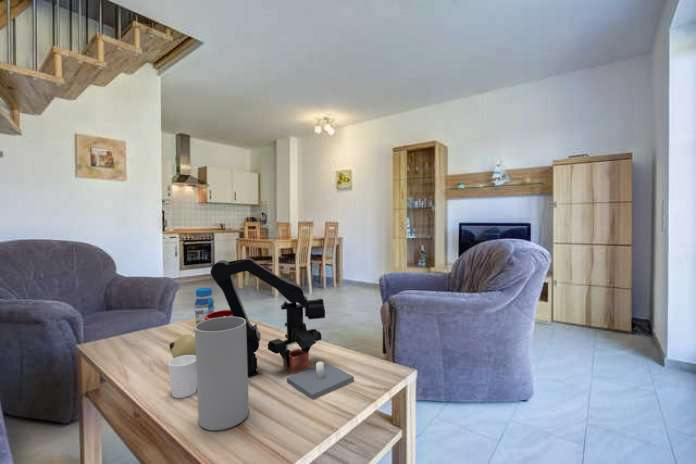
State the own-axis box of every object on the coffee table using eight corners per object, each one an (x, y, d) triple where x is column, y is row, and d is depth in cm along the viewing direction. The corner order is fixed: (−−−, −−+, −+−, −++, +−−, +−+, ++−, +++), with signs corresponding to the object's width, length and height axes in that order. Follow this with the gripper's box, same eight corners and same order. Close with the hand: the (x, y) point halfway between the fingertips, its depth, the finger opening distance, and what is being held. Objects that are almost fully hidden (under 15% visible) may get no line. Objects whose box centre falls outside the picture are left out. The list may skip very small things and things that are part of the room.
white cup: (179, 402, 97) (178, 368, 97) (164, 395, 101) (162, 362, 101) (204, 390, 104) (202, 358, 104) (188, 383, 108) (187, 353, 108)
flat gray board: (312, 399, 97) (312, 379, 97) (286, 382, 108) (286, 363, 108) (353, 381, 108) (353, 362, 108) (326, 366, 118) (326, 350, 118)
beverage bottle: (218, 331, 158) (216, 288, 158) (200, 335, 152) (198, 291, 151) (210, 327, 164) (208, 286, 163) (192, 331, 158) (190, 289, 157)
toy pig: (190, 354, 131) (189, 327, 131) (208, 361, 125) (207, 333, 124) (164, 364, 123) (163, 335, 123) (183, 372, 116) (181, 341, 116)
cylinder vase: (198, 437, 81) (194, 335, 80) (198, 410, 93) (195, 320, 92) (252, 424, 86) (248, 327, 85) (245, 400, 98) (243, 314, 97)
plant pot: (226, 333, 155) (225, 307, 154) (244, 339, 147) (243, 312, 146) (199, 342, 144) (198, 314, 144) (217, 349, 136) (216, 319, 136)
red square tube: (293, 373, 114) (292, 358, 114) (283, 367, 119) (283, 353, 118) (309, 367, 118) (308, 353, 118) (298, 361, 123) (298, 348, 123)
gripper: (283, 332, 105) (284, 381, 106) (330, 319, 118) (331, 363, 118) (266, 324, 114) (267, 370, 115) (311, 313, 126) (312, 354, 127)
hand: (296, 364), depth 118 cm, fingers closed on red square tube, 6 cm apart
